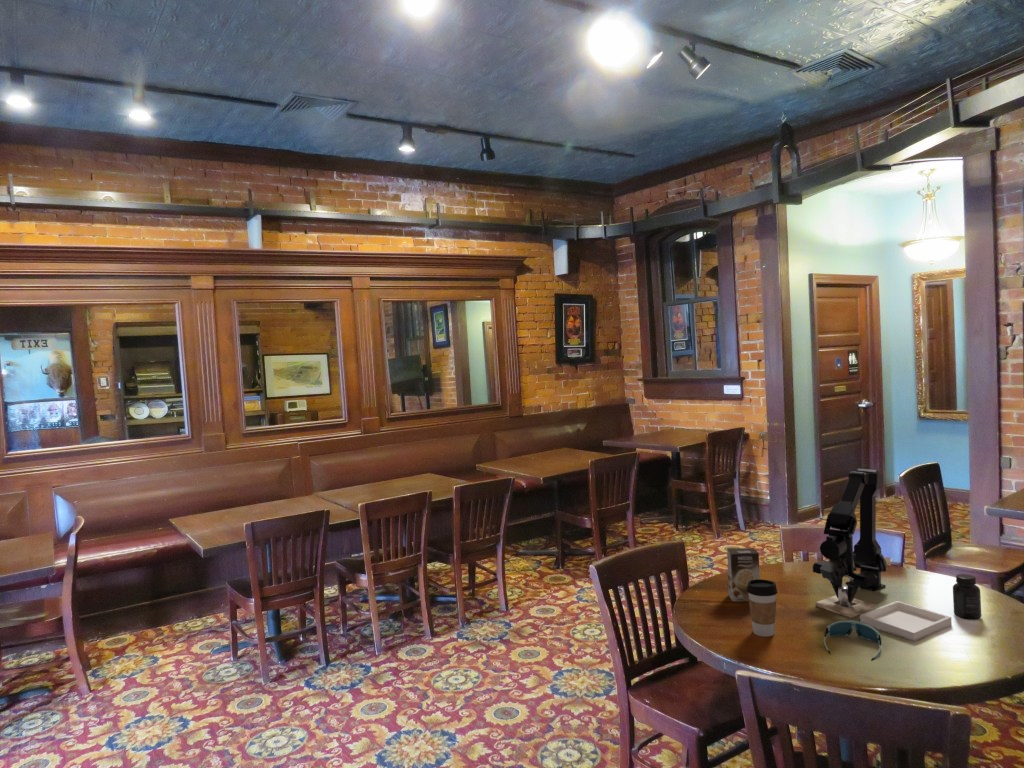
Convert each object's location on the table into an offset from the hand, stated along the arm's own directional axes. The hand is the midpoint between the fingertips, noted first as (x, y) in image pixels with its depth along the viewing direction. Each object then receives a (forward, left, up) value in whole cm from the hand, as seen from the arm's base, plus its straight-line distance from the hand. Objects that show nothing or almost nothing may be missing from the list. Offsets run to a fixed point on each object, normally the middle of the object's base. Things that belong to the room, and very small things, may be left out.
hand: (844, 600), depth 214 cm
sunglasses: (+22, +18, -3) cm, 29 cm away
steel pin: (0, 0, -2) cm, 2 cm away
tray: (-2, +18, -2) cm, 18 cm away
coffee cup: (+34, -2, -2) cm, 34 cm away
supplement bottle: (-21, +25, -2) cm, 33 cm away
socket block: (0, 0, -2) cm, 2 cm away
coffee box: (+18, -24, -2) cm, 30 cm away
